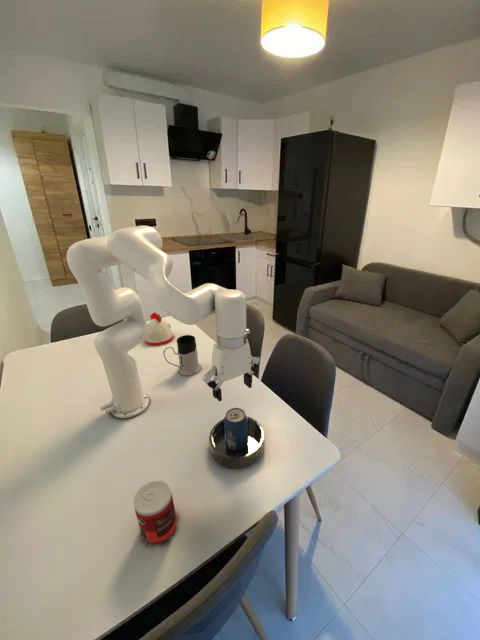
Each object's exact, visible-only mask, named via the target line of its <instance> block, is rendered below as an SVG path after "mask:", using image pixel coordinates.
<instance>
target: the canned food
mask: <svg viewBox="0 0 480 640" xmlns="http://www.w3.org/2000/svg"><path fill="white" fill-rule="evenodd" d="M133 497H134V499H133V509H134V513H135V515H136V519H137V522H138V526H139V529H140V532H141V536H142V538H143V539H144V540H145V541H147V542H148V543H150V544H160V543H163V542H165V541H167V540H168V539H169V538H170V537H171V536H172V535H173V533H174V531H176V527H177V522H178V520H177V519H178V518H177V512H176V508H175V502H174V497H173V493H172V489H171V486H170V485H169V484H168V483H167V482H165V481H162V480H153V481H150V482H147V483H145V484H144V485H142V486H141V487H140V488H139V489H138V491H137V492H136V493H135V495H134V496H133Z"/></svg>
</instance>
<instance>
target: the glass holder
mask: <svg viewBox="0 0 480 640" xmlns="http://www.w3.org/2000/svg"><path fill="white" fill-rule="evenodd" d="M176 347H177V352H175V349H174V348H173V347H172V346H166V347H165V348H164V350H163V353H162V355H163V357H164V359H165V362H167V363H168V364H169V365H172V366H173V367H174V366H175V367H177V368H179V373H180V374H181V375H182V376H193V375H195V374H197V373H199V371H200V370H201V366H200V365H199V355H198V348H197V341H196V337H195V336H194V335H192V334H184V335H181V336H179V337H178V338H176ZM168 349H171V350H172V351H173V354H174V355H177V356H178V362H179V365H177V364H175V363H172V362H170V361H169V360H168V359H167V358H166V355H165V352H166V350H168Z"/></svg>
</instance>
